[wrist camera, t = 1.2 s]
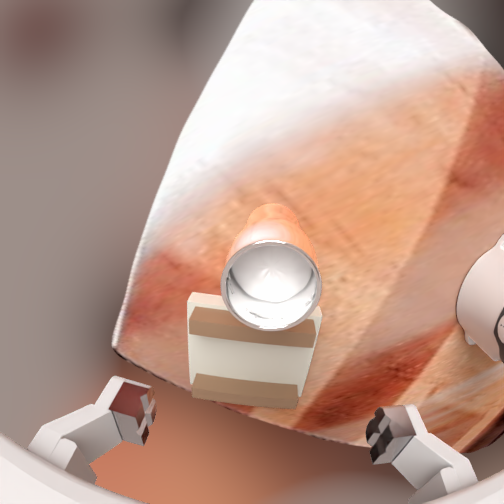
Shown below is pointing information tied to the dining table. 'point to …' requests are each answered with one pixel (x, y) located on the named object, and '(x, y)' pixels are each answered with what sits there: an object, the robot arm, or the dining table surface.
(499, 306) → the robot arm
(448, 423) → the dining table surface
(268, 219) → the beer glass
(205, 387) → the stand
